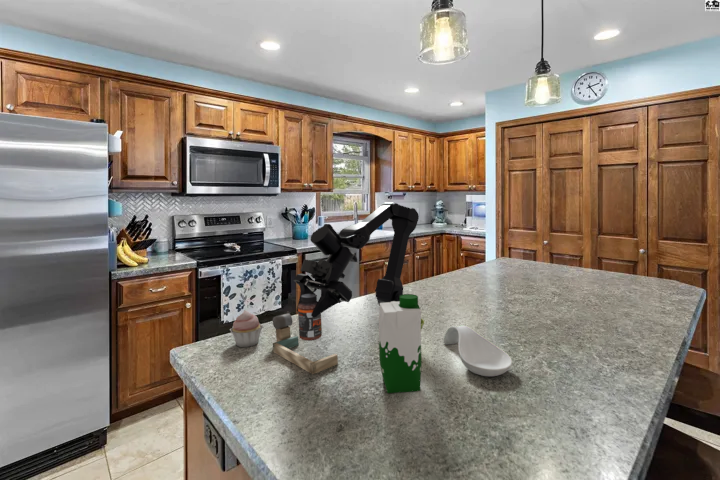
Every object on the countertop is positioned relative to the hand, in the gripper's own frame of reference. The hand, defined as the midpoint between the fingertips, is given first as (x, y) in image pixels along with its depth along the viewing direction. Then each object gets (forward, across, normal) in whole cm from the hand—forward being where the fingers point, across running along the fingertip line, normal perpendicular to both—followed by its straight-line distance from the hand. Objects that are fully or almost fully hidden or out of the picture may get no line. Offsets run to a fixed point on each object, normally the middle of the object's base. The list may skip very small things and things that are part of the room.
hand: (305, 314), depth 95 cm
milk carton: (+5, +26, +13) cm, 30 cm away
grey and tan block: (+7, -14, +10) cm, 19 cm away
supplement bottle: (+4, 0, +6) cm, 7 cm away
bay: (+9, -2, +9) cm, 12 cm away
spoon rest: (-10, +32, +29) cm, 44 cm away
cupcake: (+12, -23, +5) cm, 26 cm away
